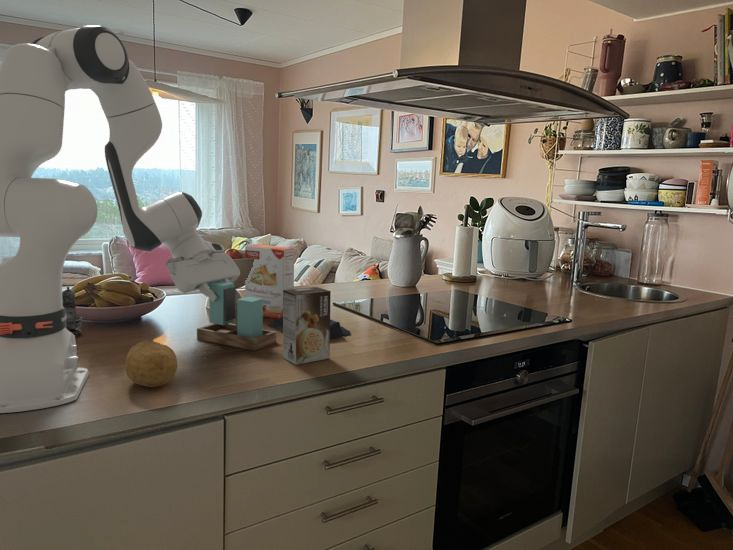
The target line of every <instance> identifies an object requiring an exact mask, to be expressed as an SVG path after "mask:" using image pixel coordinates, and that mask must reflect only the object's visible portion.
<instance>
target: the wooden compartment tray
mask: <svg viewBox="0 0 733 550" xmlns="http://www.w3.org/2000/svg"><path fill="white" fill-rule="evenodd" d="M196 339H197V340H199V341H200V340H201V341H206V342H211V343H215V344H221V345H224V346H231V347H235V348H238V349H239V348H240V349H245V350H250V351H254V352H255V351H258V350H261V349H262V348H265V347H268V346H270V345H273V344H274V343H276V342H277V330H269V329H265V328H263V335H262V336H260V337H257V338H250V337H244V336H239V335H236V324H235V323H232V322H231V323H228V324H225V325H219V324H214V323H210V324H207V325H204V326H201V327H197V328H196Z"/></svg>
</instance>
